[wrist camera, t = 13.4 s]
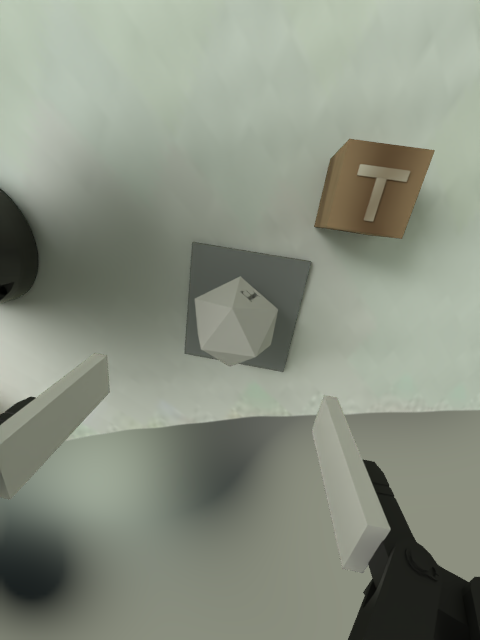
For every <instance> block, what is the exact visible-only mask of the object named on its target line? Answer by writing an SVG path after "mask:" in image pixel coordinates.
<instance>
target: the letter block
mask: <svg viewBox="0 0 480 640" xmlns="http://www.w3.org/2000/svg"><path fill="white" fill-rule="evenodd" d="M434 151H435V150H429V149H421V148H414V147H406V146H399V145H391V144H384V143H376V142H369V141H361V140H354V139H349V140H348V141H347V142H346V143H345V144H344V145H343V146H342V147H341V149H340V150H339V151H338V152H337V153H336V154H335V155H334V156H333V157H332V158H331V159H330V163H329V167H328V171H327V175H326V179H325V184H324V188H323V192H322V196H321V200H320V205H319V209H318V213H317V217H316V221H315V225H314V227H319V228H326V229H333V230H339V231H346V232H352V233H359V234H366V235H372V236H382V237H391V238H401V239H402V237H403V234H404V232H405V229H406V226H407V224H408V221H409V218H410V216H411V213H412V210H413V208H414V205H415V202H416V200H417V197H418V194H419V191H420V189H421V186H422V183H423V181H424V178H425V175H426V173H427V170H428V167H429V165H430V162H431V159H432V156H433V154H434Z"/></svg>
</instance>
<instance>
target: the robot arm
mask: <svg viewBox="0 0 480 640" xmlns="http://www.w3.org/2000/svg"><path fill="white" fill-rule="evenodd" d="M37 269H38V255H37V248H36V244H35V241H34V237H33V235H32V232H31V230H30V228H29V226H28V224H27V222H26V220H25V218H24V217H23V215H22V214H21V212H20V211H19V209H18V208H17V207H16V205H15V204H14V203H13V202H12V201H11V200H10V198H9V197H8V196H7V195H6V194H5V193H4V192H2V191H1V190H0V303H3V302H6V301H10V300H13V299H16V298H19V297H20V296H22V295H24V294H25V293H26V292H27V291H28V290H29V289H30V288H31V286H32V284H33V282H34V280H35V278H36V274H37ZM109 392H110V390H109V376H108V361H107V355H102V354H97V353H94V354H93V355H92V356H91V357H89V358H88V359H87V360H85V361H84V362H83V363H81V364H80V365H79V366H77V367H76V368H75V369H73V370H72V371H71V372H69V373H68V374H67V375H66V376H64V377H63V378H62V379H60V380H59V381H58V382H56V383H55V384H54V385H52V386H51V387H50V388H48V389H47V390H46V391H45V392H43V393H42V394H41V395H39V396H38V397H37V398H35V397H29V398H27V399H25V400H22V401H20V402H18V403H16V404H15V405H14V406H12V407H11V408H9V409H8V410H7V411H5V413H2V414H1V415H0V497H1V498H5V499H11V498H12V497H13V496H14V495H15V494H16V493H17V492H18V491H19V489H21V487H22V486H23V485H24V484H25V483H26V482H27V481H28V480H29V479H30V478H31V477H32V475H33V474H34V473H35V472H36V471H37V470H38V469H39V468H40V467H41V466H42V465H43V464H44V462H45V461H46V460H47V459H48V458H49V457H50V456H51V455H52V454H53V453H54V452H55V451H56V449H57V448H58V447H59V446H60V445H61V444H62V443H63V442H64V441H65V440H66V439H67V438H68V437H69V436H70V434H71V433H72V432H73V431H74V430H75V429H76V428H77V427H78V426H79V425H80V424H81V423H82V421H83V420H84V419H85V418H86V417H87V416H88V415H89V414H90V413H91V412H92V411H93V410H94V409H95V407H96V406H97V405H98V404H99V403H100V402H101V401H102V400H103V399H104V398H105V397H106V396H107V394H108V393H109ZM312 433H313V438H314V442H315V447H316V451H317V456H318V460H319V465H320V469H321V474H322V478H323V482H324V487H325V492H326V496H327V501H328V505H329V510H330V515H331V519H332V524H333V528H334V533H335V537H336V542H337V546H338V551H339V555H340V560H341V564H342V568H343V569H346V570H351V571H355V572H360V573H363V572H364V570H365V569H366V567H367V566H368V565H369V568H370V571H371V574H372V578H373V579H372V580H371V582H370V583H369V585H368V586H367V588H366V589H365V591H364V592H363V593H364V594H365V597H364V600H363V602H362V605H361V607H360V610H359V612H358V615H357V618H356V620H355V623H354V625H353V628H352V631H351V633H350V636H349V638H348V640H480V577H474V578H473V579H472V580H471V581H470V582H467V581H466V580H463V579H462V578H460V577H458V576H456V575H455V574H453V573H451V572H449V571H447V570H445V569H444V568H442V567H440V566H439V565H437V563H436V562H435V560H434V559H433V557H432V556H431V554H430V553H429V552H428V551H427V550H426V549H425V548H423V546H421V545H420V544H418V543H417V542H416V540H415V539H414V537H413V535H412V533H411V531H410V529H409V526H408V524H407V522H406V520H405V518H404V516H403V514H402V511H401V509H400V507H399V505H398V503H397V501H396V499H395V498H394V494H393V492H392V490H391V488H389V484H388V482H387V479H386V477H385V475H384V473H383V472H382V471H381V469H380V468H379V467H378V466H377V465H376V463H375V462H372V461H367V460H362V458H361V455H360V453H359V450H358V448H357V445H356V443H355V440H354V438H353V435H352V433H351V431H350V428H349V426H348V423H347V421H346V418H345V416H344V413H343V411H342V408H341V406H340V404H339V401H338V399H337V397H331V396H326V395H324V396H323V399H322V402H321V405H320V408H319V411H318V414H317V417H316V420H315V423H314V426H313V428H312Z"/></svg>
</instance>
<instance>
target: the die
mask: <svg viewBox="0 0 480 640" xmlns="http://www.w3.org/2000/svg"><path fill="white" fill-rule="evenodd" d="M195 308H196V319H197V330H198V337H199V342H200V347H201V350H203V351H205V352H206V353H208V354H210V355H211V356H213V357H215V358H216V359H218V360H220V361H221V362H223V363H225V364H226V365H228V366H233V365H235V364H238V363H241V362H244V361H246V360H249V359H252V358H254V357H256V356H258V355H259V354H260V353H261V352H262V351H264V350H265V349H266V348H267V347H269V346H270V345H271V342H272V337H273V332H274V327H275V322H276V318H277V313H278V309H277V308H276V307H275V306H274V305H273V304H271V303H270V302H269V301H268V300H267V299H266V298H265V297H263V296H262V295H261V294H260V293H259V292H258V291H257V290H255V289H254V288H253V287H252V286H251V285H250V284H249V283H247V282H246V281H245V280H244V279H243V278H242V277H241V276H240V277H238V278H236V279H234V280H232V281H230V282H228V283H226V284H224V285H222V286H220V287H218V288H215V289H213V290H211V291H209V292H207V293H205V294H203V295H201V296H199V297H197V298H195Z"/></svg>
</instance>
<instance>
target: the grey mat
mask: <svg viewBox="0 0 480 640" xmlns="http://www.w3.org/2000/svg"><path fill="white" fill-rule="evenodd" d="M310 265H311V261H305V260H299V259H293V258H287V257H281V256H275V255H269V254H263V253H257V252H250V251H244V250H238V249H232V248H226V247H220V246H214V245H208V244H202V243H196V242H192V256H191V270H190V284H189V298H188V312H187V326H186V340H185V354H190V355H195V356H201V357H206V358H211V359H216V358H215V357H213V356H211V355H210V354H208V353H206V352H205V351H203V350H201V347H200V342H199V337H198V330H197V319H196V308H195V298H197V297H199V296H201V295H203V294H205V293H207V292H209V291H211V290H213V289H215V288H218V287H220V286H222V285H224V284H226V283H228V282H230V281H232V280H234V279H236V278H238V277H240V276H241V277H242V278H243V279H244V280H245V281H246V282H247V283H249V284H250V285H251V286H252V287H253V288H254V289H255V290H257V291H258V292H259V293H260V294H261V295H262V296H263V297H265V298H266V299H267V300H268V301H269V302H270V303H271V304H273V305H274V306H275V307H276V308H277V309H278V313H277V318H276V322H275V327H274V332H273V337H272V342H271V345H270V346H269V347H267V348H266V349H265V350H264V351H262V352H261V353H260V354H259V355H258V356H256V357H254V358H252V359H249V360H246V361H244V362H241V363H238V364H243V365H249V366H254V367H259V368H265V369H270V370H275V371H281V372H284V368H285V364H286V360H287V356H288V352H289V348H290V344H291V340H292V336H293V332H294V328H295V324H296V320H297V316H298V312H299V308H300V304H301V300H302V296H303V292H304V288H305V284H306V281H307V277H308V273H309V269H310ZM217 360H218V359H217Z"/></svg>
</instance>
